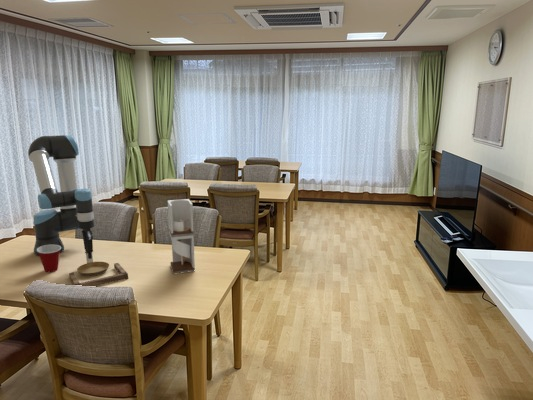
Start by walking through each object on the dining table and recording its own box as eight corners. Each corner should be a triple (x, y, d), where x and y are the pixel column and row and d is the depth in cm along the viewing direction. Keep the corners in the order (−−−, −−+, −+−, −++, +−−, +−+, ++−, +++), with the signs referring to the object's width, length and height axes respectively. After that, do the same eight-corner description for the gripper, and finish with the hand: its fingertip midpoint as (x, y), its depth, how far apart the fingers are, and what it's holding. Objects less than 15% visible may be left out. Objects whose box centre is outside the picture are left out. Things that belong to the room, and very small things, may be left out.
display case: (170, 265, 204) (167, 200, 196) (191, 263, 208) (188, 199, 200) (173, 274, 194) (170, 205, 186) (194, 271, 197) (192, 204, 189)
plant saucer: (71, 277, 189) (71, 272, 188) (86, 265, 203) (86, 260, 203) (101, 278, 188) (101, 273, 188) (114, 266, 203) (114, 261, 202)
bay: (69, 277, 188) (68, 273, 188) (118, 267, 201) (117, 262, 201) (76, 290, 175) (75, 285, 175) (128, 278, 188) (127, 273, 188)
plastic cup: (50, 276, 190) (47, 252, 187) (34, 272, 194) (31, 249, 191) (68, 267, 200) (66, 245, 197) (52, 264, 204) (49, 242, 201)
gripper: (74, 218, 200) (79, 261, 205) (80, 224, 189) (85, 269, 195) (90, 215, 204) (94, 258, 209) (96, 221, 194) (100, 266, 199)
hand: (90, 263), depth 202 cm, fingers closed
